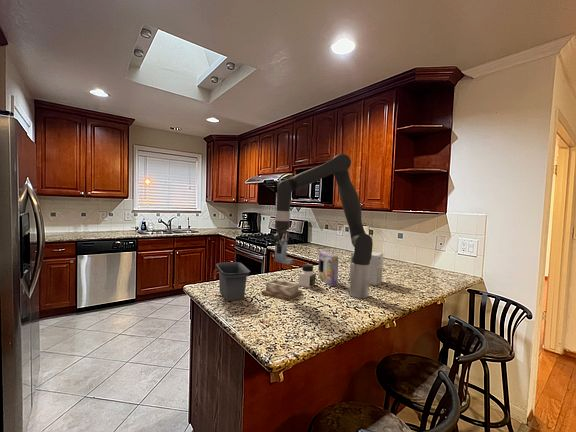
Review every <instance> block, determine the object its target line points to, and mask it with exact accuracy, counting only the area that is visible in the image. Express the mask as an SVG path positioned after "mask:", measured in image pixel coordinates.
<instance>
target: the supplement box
mask: <svg viewBox="0 0 576 432" xmlns="http://www.w3.org/2000/svg"><path fill="white" fill-rule="evenodd" d="M353 256H354V251H351V252H350V263H349V264H350V265H349V281H350V280H351V265H352V257H353ZM383 262H384V253H383V252H375V251H372V257H371V260H370V266H369V278H370V281H369V285H372V286H377V285H379V284H380V283H382V281H383V266H384V265H383Z"/></svg>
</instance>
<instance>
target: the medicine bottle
mask: <svg viewBox="0 0 576 432" xmlns="http://www.w3.org/2000/svg"><path fill="white" fill-rule="evenodd" d="M301 270H302V272H299V273H298V284H299V286H301V287H305V288H309V289H310V288H312V287H313V286H316V277H317V276H316V274H317V273H316V272H314V266H313V264H309V263H304V264H303V265H302V269H301Z"/></svg>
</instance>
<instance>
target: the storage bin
mask: <svg viewBox="0 0 576 432" xmlns="http://www.w3.org/2000/svg"><path fill="white" fill-rule="evenodd" d="M215 266H216V269H214V271H213V279H214V280H216V279H217V275H218V278H219V279H218V280H219V281H218V282H219V283H218V284H219V291H220V292H221V294H222V296H223V297H224V299H225V301H227V302H234V301H235V302H237V301H243V300H244V299H245V294H246V285H247V278H248V277H249V276H250V272H251V270H249V268H247V266H245V265H244V264H243V263H242V262H238V261H230V262H228V261H227V262H219V263H218V262H217V263H216V264H215ZM217 271H218V272H217Z"/></svg>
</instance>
